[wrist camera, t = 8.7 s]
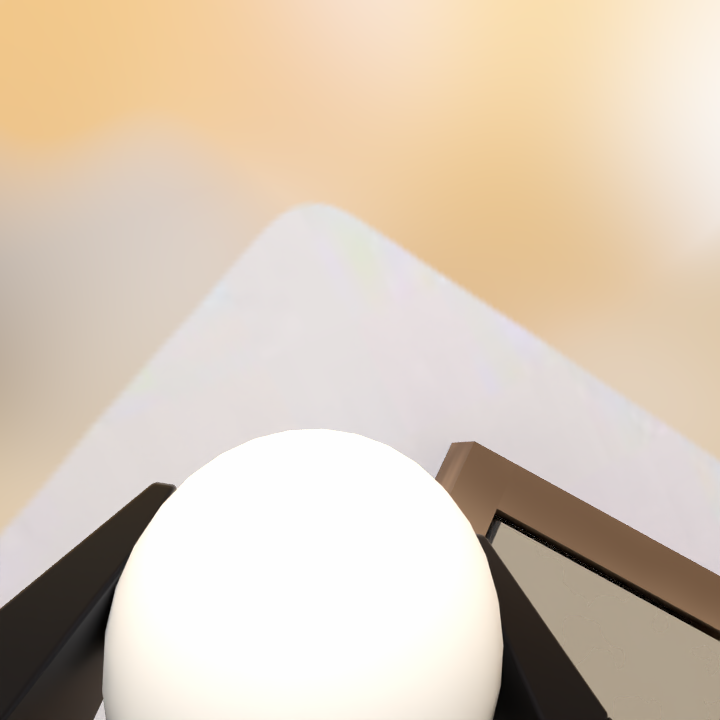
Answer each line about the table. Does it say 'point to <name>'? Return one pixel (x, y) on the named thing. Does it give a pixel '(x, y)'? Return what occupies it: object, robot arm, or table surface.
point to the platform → (616, 636)
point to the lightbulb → (305, 593)
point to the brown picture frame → (579, 532)
